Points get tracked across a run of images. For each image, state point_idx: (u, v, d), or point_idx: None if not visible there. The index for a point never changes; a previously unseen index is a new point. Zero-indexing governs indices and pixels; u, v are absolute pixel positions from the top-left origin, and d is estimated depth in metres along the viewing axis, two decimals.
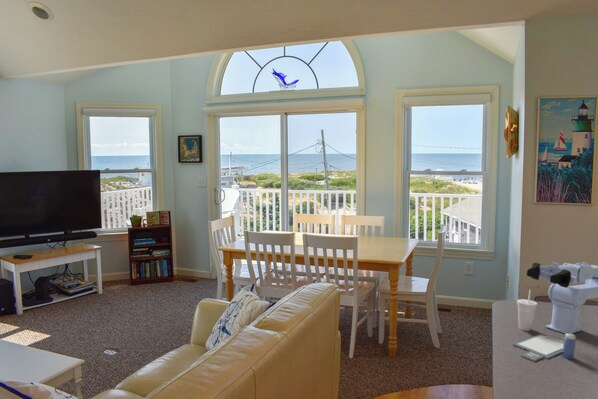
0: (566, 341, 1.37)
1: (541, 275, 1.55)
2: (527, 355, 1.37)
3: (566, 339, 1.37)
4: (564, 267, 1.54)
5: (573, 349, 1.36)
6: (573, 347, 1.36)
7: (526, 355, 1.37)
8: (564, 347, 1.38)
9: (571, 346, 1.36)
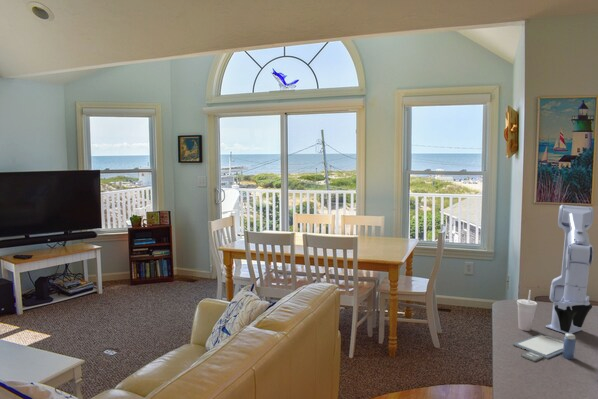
0: (566, 341, 1.37)
1: None
2: (527, 355, 1.37)
3: (566, 339, 1.37)
4: (586, 288, 1.34)
5: (573, 349, 1.36)
6: (573, 347, 1.36)
7: (526, 355, 1.37)
8: (564, 347, 1.38)
9: (571, 346, 1.36)
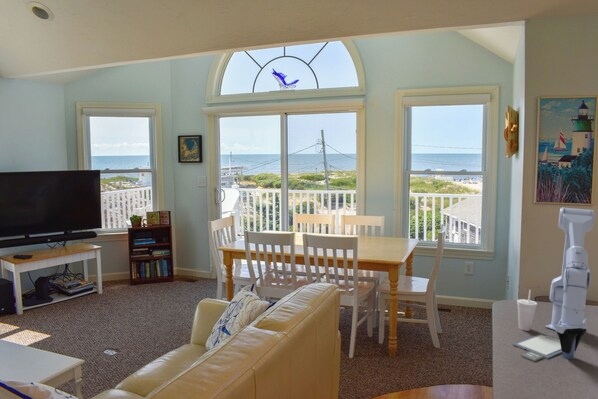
0: None
1: None
2: (527, 355, 1.37)
3: None
4: None
5: (573, 349, 1.36)
6: (573, 347, 1.36)
7: (526, 355, 1.37)
8: None
9: None
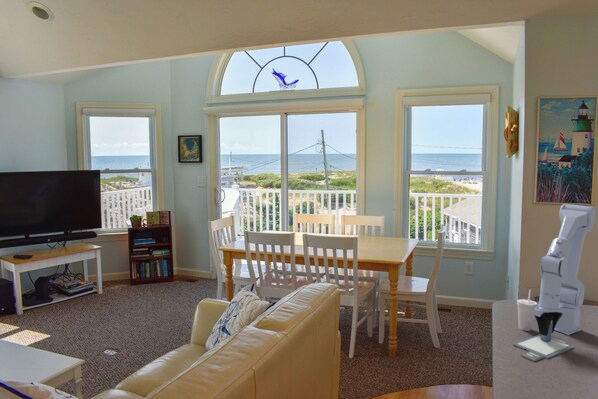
0: None
1: None
2: (527, 355, 1.37)
3: None
4: (560, 296, 1.45)
5: (550, 332, 1.47)
6: (550, 330, 1.47)
7: (526, 355, 1.37)
8: None
9: None
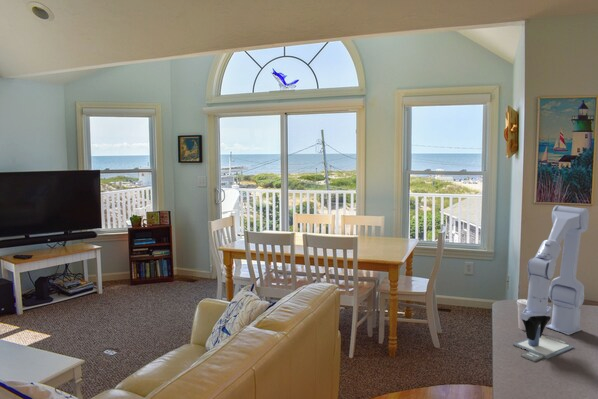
0: None
1: None
2: (527, 355, 1.37)
3: None
4: None
5: (538, 336, 1.43)
6: (538, 334, 1.42)
7: (526, 355, 1.37)
8: None
9: (536, 334, 1.42)
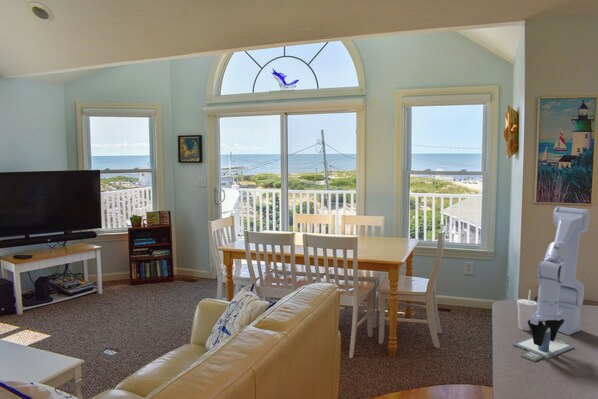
0: None
1: None
2: (527, 355, 1.37)
3: None
4: (558, 303, 1.38)
5: (548, 342, 1.39)
6: (548, 340, 1.39)
7: (526, 355, 1.37)
8: None
9: (546, 339, 1.39)
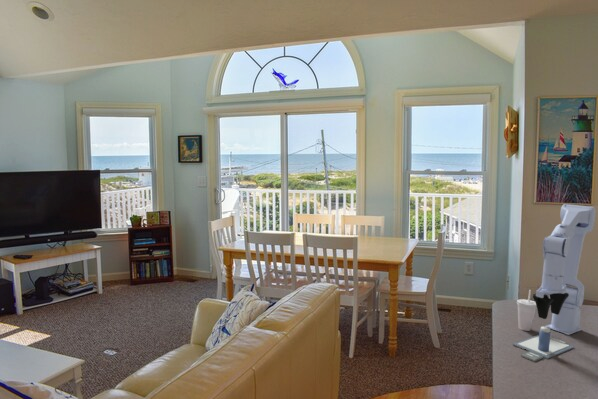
0: (541, 334, 1.40)
1: None
2: (527, 355, 1.37)
3: (541, 332, 1.40)
4: (563, 277, 1.42)
5: (548, 342, 1.39)
6: (548, 340, 1.39)
7: (526, 355, 1.37)
8: (539, 340, 1.41)
9: (546, 339, 1.39)
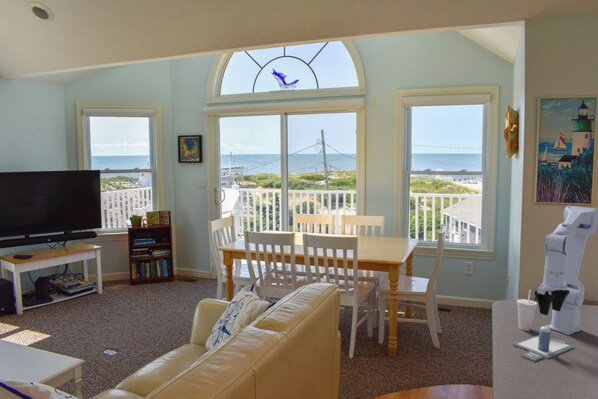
0: (541, 334, 1.40)
1: None
2: (527, 355, 1.37)
3: (541, 332, 1.40)
4: (564, 274, 1.45)
5: (548, 342, 1.39)
6: (548, 340, 1.39)
7: (526, 355, 1.37)
8: (539, 340, 1.41)
9: (546, 339, 1.39)
